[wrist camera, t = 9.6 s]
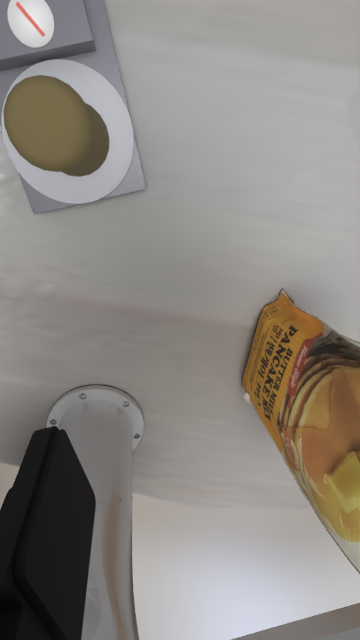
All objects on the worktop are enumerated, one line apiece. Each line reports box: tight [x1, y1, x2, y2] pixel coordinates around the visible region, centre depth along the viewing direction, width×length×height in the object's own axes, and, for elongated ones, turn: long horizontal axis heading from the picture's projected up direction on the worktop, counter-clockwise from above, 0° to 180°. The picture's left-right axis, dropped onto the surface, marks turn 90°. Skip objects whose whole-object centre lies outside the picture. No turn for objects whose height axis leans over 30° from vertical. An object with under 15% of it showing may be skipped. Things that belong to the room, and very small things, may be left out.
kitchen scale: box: [0, 0, 146, 214], centre depth 29 cm, size 15×11×5 cm
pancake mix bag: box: [242, 288, 360, 573], centre depth 32 cm, size 7×19×28 cm, turn 170°
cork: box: [3, 75, 109, 177], centre depth 25 cm, size 6×6×11 cm
